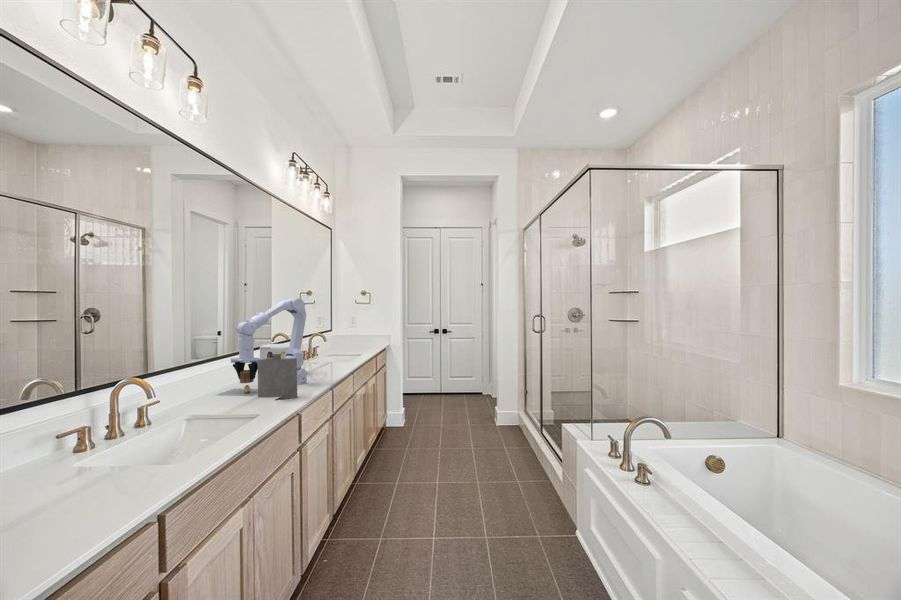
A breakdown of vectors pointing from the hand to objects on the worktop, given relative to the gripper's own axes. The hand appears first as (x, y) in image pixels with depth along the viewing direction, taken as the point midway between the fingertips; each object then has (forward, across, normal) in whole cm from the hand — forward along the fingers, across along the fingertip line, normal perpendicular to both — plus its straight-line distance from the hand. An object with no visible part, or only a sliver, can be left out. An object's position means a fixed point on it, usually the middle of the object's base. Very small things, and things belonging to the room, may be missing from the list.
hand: (246, 378), depth 165 cm
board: (+8, -3, +1) cm, 8 cm away
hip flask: (+8, +17, -3) cm, 19 cm away
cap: (+1, 0, 0) cm, 1 cm away
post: (+6, 0, 0) cm, 6 cm away
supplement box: (+8, -12, +42) cm, 44 cm away
